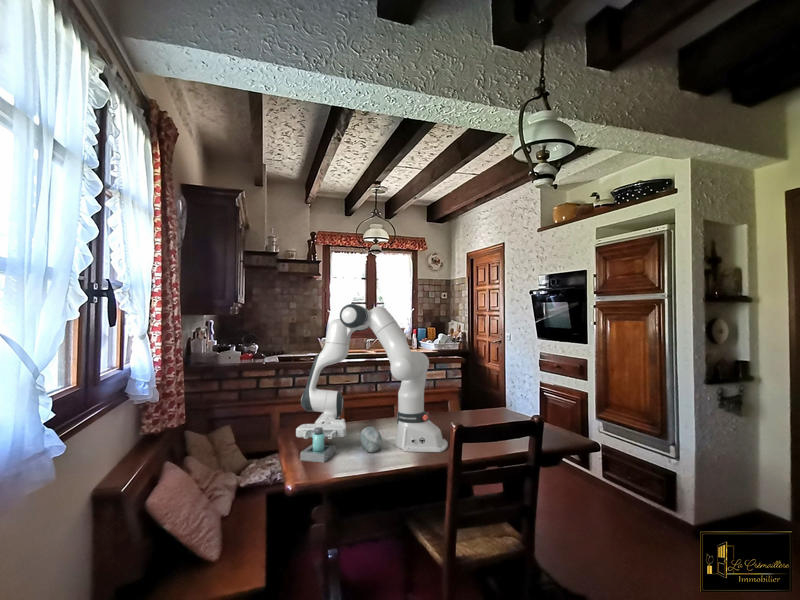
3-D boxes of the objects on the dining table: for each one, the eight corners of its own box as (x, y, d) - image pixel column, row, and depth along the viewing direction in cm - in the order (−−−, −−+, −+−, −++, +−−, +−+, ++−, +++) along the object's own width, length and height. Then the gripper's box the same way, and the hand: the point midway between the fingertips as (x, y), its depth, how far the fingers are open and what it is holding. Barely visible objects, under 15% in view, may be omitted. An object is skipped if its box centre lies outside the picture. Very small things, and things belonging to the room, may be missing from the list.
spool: (355, 435, 169) (366, 416, 168) (374, 444, 171) (385, 425, 169) (354, 454, 156) (366, 434, 154) (375, 463, 157) (387, 443, 156)
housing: (335, 453, 157) (335, 445, 157) (324, 462, 147) (324, 454, 147) (312, 451, 160) (312, 443, 160) (300, 460, 150) (300, 452, 150)
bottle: (326, 455, 155) (326, 427, 155) (321, 459, 151) (321, 430, 151) (315, 454, 156) (316, 426, 156) (310, 458, 152) (310, 429, 152)
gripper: (300, 419, 167) (291, 428, 153) (348, 418, 167) (343, 428, 153) (300, 434, 167) (291, 445, 153) (348, 433, 166) (343, 444, 153)
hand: (317, 436), depth 153 cm, fingers open, 8 cm apart
